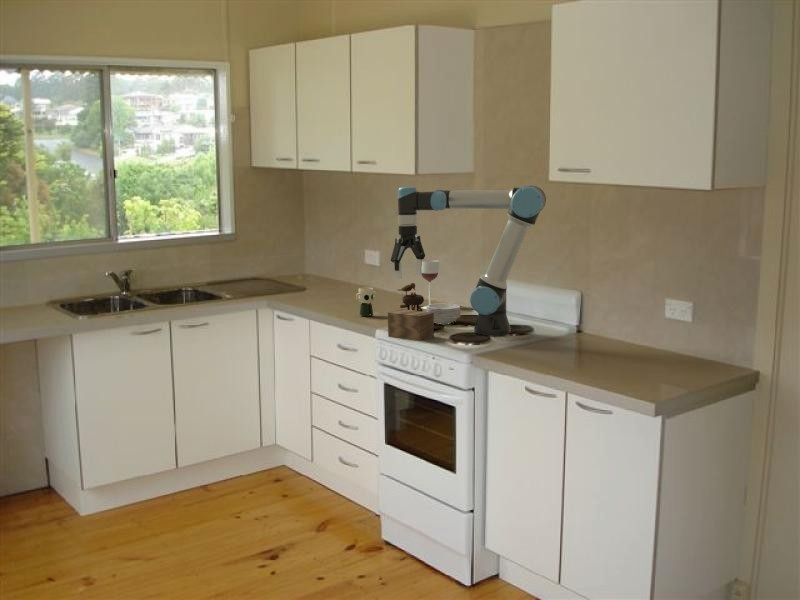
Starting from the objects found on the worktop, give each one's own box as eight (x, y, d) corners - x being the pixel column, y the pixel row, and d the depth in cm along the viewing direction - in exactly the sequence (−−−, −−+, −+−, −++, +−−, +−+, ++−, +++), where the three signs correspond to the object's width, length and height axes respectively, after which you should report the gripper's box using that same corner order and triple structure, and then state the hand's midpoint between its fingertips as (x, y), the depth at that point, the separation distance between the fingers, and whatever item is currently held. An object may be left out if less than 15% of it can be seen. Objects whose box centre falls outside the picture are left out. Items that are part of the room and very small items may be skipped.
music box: (411, 331, 390) (407, 284, 388) (392, 330, 398) (389, 284, 396) (435, 326, 401) (431, 280, 399) (417, 325, 408) (413, 280, 407)
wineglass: (428, 309, 444) (428, 262, 441) (416, 307, 452) (415, 260, 449) (443, 307, 449) (443, 261, 446) (430, 305, 457) (430, 259, 454)
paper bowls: (467, 322, 409) (467, 305, 408) (444, 327, 398) (444, 309, 397) (442, 318, 420) (442, 301, 418) (419, 323, 409) (419, 305, 408)
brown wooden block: (433, 336, 379) (433, 312, 377) (419, 340, 371) (419, 316, 369) (402, 332, 388) (402, 309, 387) (388, 336, 380) (387, 312, 379)
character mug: (360, 318, 423) (360, 290, 421) (352, 316, 428) (351, 288, 426) (380, 315, 429) (380, 288, 427) (371, 313, 435) (371, 286, 433)
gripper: (418, 222, 386) (419, 272, 389) (381, 227, 366) (382, 279, 370) (433, 223, 381) (433, 273, 385) (395, 227, 362) (397, 280, 365)
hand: (408, 276), depth 377 cm, fingers open, 13 cm apart
